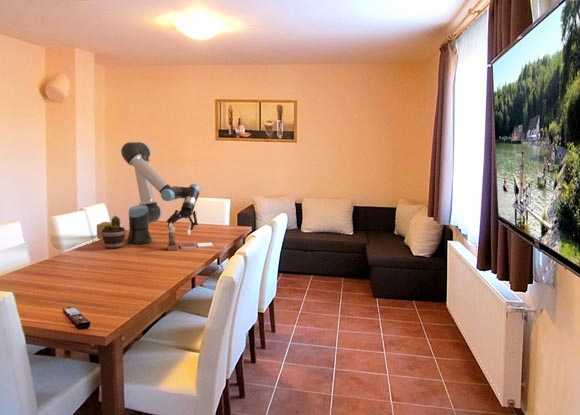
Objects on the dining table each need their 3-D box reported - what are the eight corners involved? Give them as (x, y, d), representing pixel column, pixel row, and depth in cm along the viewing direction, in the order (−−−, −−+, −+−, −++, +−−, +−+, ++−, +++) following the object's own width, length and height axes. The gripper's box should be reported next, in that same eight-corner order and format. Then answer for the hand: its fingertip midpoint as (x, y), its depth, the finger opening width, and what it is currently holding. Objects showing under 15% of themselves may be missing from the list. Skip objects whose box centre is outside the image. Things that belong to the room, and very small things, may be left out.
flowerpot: (118, 250, 265) (117, 217, 262) (95, 249, 268) (94, 216, 265) (131, 245, 279) (130, 214, 276) (109, 243, 282) (108, 212, 279)
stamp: (167, 248, 273) (166, 225, 271) (175, 247, 275) (175, 224, 273) (168, 250, 267) (167, 227, 265) (176, 250, 268) (176, 226, 266)
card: (195, 243, 287) (195, 242, 287) (212, 242, 290) (212, 241, 290) (197, 247, 276) (197, 246, 276) (215, 246, 280) (215, 245, 280)
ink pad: (179, 245, 280) (179, 243, 280) (194, 244, 283) (194, 242, 283) (181, 248, 272) (181, 246, 272) (196, 247, 275) (196, 245, 275)
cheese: (119, 236, 305) (118, 222, 303) (111, 239, 294) (110, 224, 293) (104, 235, 306) (103, 221, 304) (96, 239, 295) (95, 224, 294)
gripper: (208, 209, 284) (198, 237, 272) (173, 207, 290) (162, 235, 278) (204, 202, 278) (194, 231, 266) (168, 201, 284) (157, 228, 272)
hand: (178, 233), depth 272 cm, fingers open, 13 cm apart
